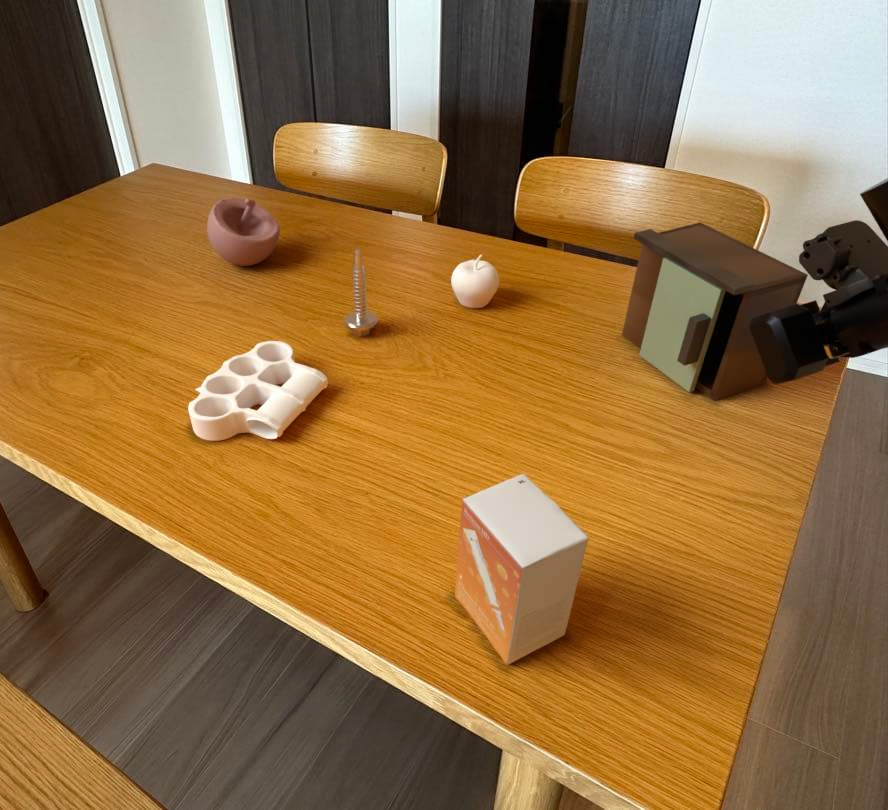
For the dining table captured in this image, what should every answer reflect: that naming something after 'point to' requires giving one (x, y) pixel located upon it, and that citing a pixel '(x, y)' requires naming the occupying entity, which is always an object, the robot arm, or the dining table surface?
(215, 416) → the white brass knuckles
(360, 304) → the screw
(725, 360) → the cupboard
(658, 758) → the dining table surface
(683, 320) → the sliding door
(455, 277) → the apple
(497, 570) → the small box
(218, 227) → the mortar and pestle
